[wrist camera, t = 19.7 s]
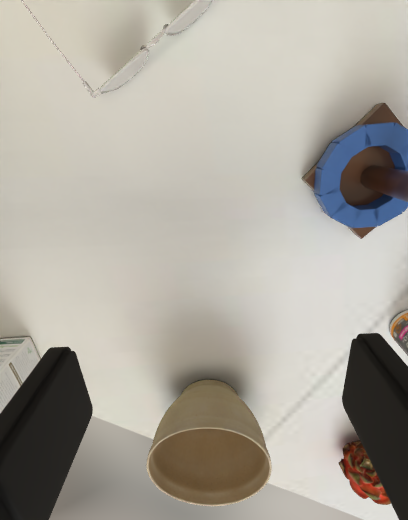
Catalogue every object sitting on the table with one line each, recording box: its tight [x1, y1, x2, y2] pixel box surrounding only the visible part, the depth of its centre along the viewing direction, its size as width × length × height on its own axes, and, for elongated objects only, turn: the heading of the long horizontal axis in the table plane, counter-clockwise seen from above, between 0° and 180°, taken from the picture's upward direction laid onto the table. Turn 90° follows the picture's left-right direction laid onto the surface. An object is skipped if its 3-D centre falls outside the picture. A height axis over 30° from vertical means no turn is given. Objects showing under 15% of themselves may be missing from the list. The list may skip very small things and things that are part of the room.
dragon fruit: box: [339, 441, 391, 505], centre depth 47 cm, size 8×8×12 cm
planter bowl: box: [147, 380, 271, 506], centre depth 42 cm, size 16×16×11 cm
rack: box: [302, 103, 408, 239], centre depth 27 cm, size 10×10×12 cm
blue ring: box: [314, 122, 408, 228], centre depth 30 cm, size 10×10×2 cm
